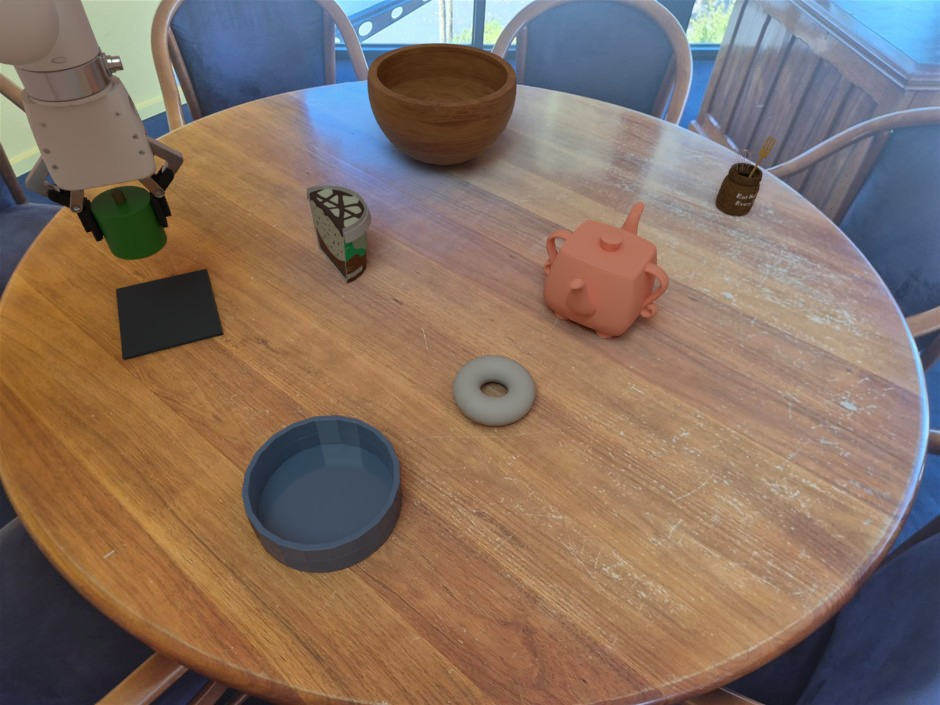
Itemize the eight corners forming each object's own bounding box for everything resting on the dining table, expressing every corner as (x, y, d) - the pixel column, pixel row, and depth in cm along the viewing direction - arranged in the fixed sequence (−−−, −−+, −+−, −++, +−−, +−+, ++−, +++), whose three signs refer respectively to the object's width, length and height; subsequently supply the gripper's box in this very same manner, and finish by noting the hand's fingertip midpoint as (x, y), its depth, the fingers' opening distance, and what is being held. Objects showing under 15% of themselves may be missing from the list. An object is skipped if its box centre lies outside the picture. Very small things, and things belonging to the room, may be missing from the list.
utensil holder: (706, 202, 106) (731, 137, 97) (732, 193, 109) (759, 129, 100) (732, 220, 103) (759, 155, 94) (758, 211, 105) (788, 145, 96)
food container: (390, 274, 90) (386, 216, 83) (352, 289, 88) (344, 231, 80) (351, 231, 97) (344, 174, 90) (315, 243, 94) (305, 186, 87)
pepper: (112, 265, 72) (86, 213, 67) (109, 234, 76) (84, 182, 71) (170, 252, 74) (149, 201, 69) (164, 223, 78) (144, 172, 73)
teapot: (556, 357, 80) (572, 282, 71) (527, 274, 91) (537, 201, 82) (665, 346, 82) (694, 272, 73) (624, 267, 93) (644, 194, 84)
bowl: (409, 207, 102) (406, 119, 91) (352, 138, 116) (343, 56, 105) (536, 172, 111) (547, 89, 100) (468, 112, 125) (471, 34, 114)
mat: (123, 360, 77) (122, 358, 77) (116, 290, 86) (115, 288, 85) (223, 334, 81) (222, 332, 80) (207, 270, 89) (206, 268, 89)
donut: (545, 385, 77) (473, 356, 80) (550, 367, 75) (475, 338, 77) (514, 445, 71) (437, 411, 73) (517, 427, 68) (437, 393, 71)
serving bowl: (271, 598, 58) (259, 575, 54) (241, 468, 67) (229, 442, 63) (423, 538, 62) (422, 514, 59) (375, 425, 72) (372, 398, 68)
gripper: (156, 48, 65) (204, 196, 78) (-35, 72, 60) (50, 226, 73) (164, 78, 60) (213, 229, 74) (-42, 106, 55) (50, 263, 68)
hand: (131, 226), depth 73 cm, fingers closed on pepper, 6 cm apart
